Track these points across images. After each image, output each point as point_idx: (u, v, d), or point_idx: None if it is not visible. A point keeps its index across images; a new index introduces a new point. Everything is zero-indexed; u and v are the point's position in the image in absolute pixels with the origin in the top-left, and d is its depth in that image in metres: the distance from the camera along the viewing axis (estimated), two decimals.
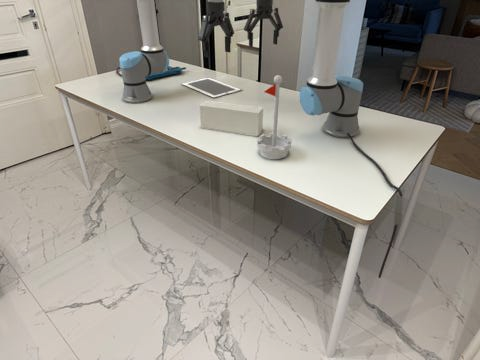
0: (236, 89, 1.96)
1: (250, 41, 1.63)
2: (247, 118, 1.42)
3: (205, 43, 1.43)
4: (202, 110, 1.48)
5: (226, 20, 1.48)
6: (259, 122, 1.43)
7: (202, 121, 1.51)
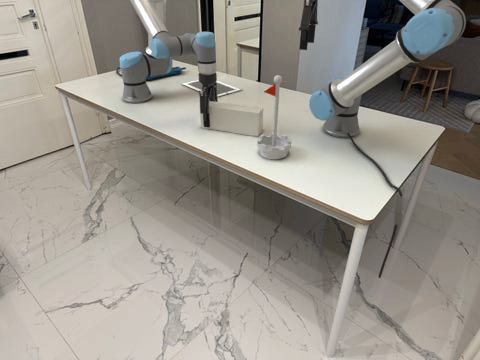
0: (236, 89, 1.96)
1: (304, 42, 1.23)
2: (247, 118, 1.42)
3: None
4: None
5: None
6: (259, 122, 1.43)
7: (202, 121, 1.51)
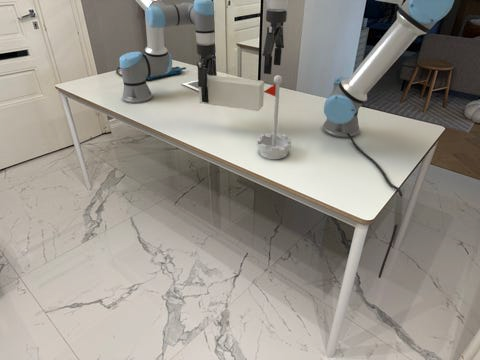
0: None
1: (268, 67, 1.27)
2: (247, 91, 1.36)
3: None
4: None
5: None
6: (260, 96, 1.37)
7: (200, 96, 1.45)
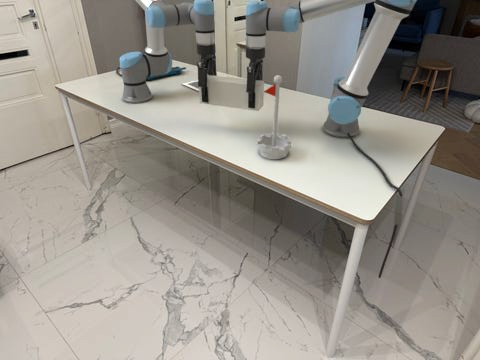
0: None
1: (252, 102, 1.37)
2: None
3: None
4: None
5: None
6: (260, 96, 1.37)
7: (200, 96, 1.45)
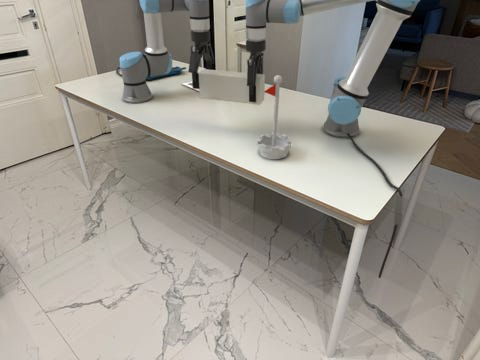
0: None
1: (252, 96, 1.36)
2: None
3: None
4: (200, 78, 1.40)
5: None
6: (261, 89, 1.35)
7: (201, 91, 1.43)
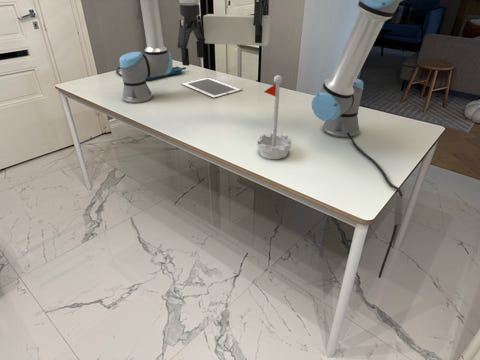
0: (236, 89, 1.96)
1: (258, 36, 1.37)
2: None
3: None
4: (206, 21, 1.39)
5: None
6: (267, 30, 1.37)
7: (206, 35, 1.42)
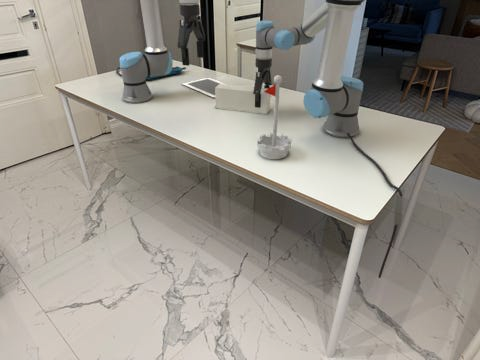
0: None
1: (258, 102, 1.60)
2: None
3: None
4: (217, 92, 1.68)
5: None
6: (268, 101, 1.64)
7: (217, 102, 1.71)
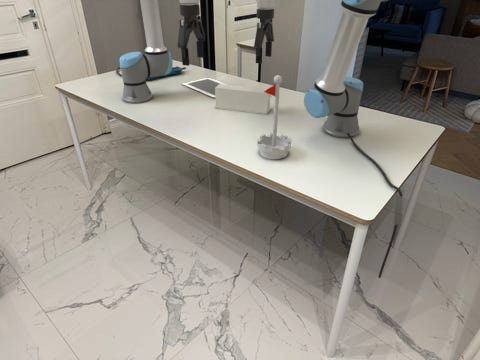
0: None
1: (259, 57, 1.49)
2: (257, 98, 1.63)
3: None
4: (217, 92, 1.68)
5: None
6: (268, 101, 1.64)
7: (217, 102, 1.71)
